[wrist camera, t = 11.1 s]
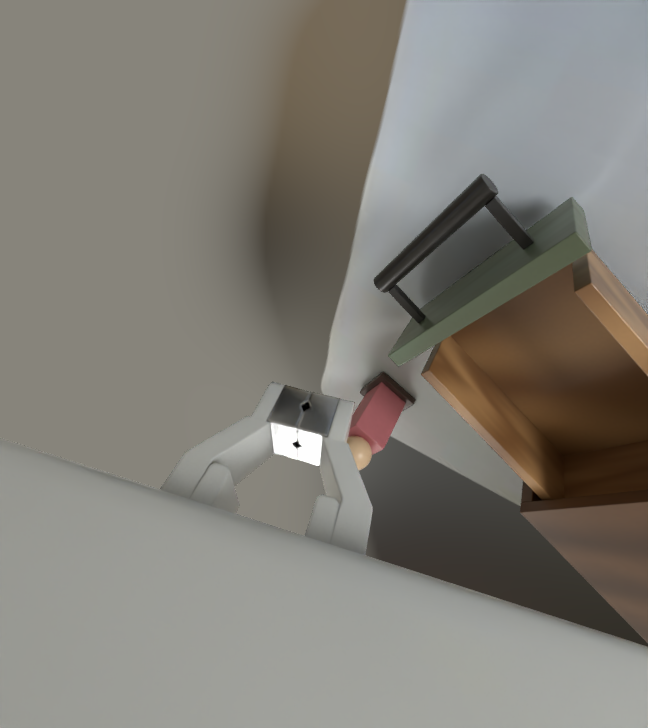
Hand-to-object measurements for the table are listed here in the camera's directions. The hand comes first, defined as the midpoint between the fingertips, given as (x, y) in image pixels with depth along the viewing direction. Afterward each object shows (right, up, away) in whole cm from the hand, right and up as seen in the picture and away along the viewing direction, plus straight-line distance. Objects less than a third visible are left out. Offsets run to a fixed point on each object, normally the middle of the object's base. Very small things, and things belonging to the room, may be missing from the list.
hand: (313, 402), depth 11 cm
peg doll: (+8, -2, +26) cm, 27 cm away
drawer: (+17, +4, +13) cm, 21 cm away
